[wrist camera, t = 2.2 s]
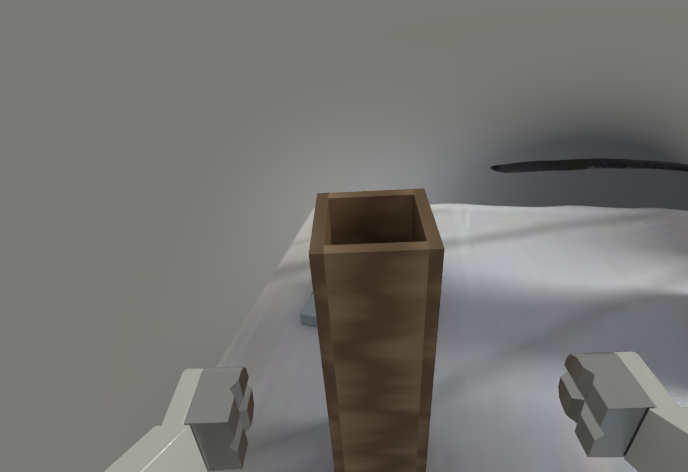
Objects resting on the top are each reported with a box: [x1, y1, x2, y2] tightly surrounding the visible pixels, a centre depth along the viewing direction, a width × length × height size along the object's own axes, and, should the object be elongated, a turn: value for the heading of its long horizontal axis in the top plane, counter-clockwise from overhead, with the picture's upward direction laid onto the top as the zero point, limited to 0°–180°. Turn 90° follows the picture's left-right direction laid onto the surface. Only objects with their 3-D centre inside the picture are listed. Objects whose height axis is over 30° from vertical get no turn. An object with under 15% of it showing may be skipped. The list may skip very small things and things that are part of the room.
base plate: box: [300, 293, 318, 327], centre depth 53 cm, size 14×16×8 cm
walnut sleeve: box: [309, 189, 444, 472], centre depth 29 cm, size 6×6×24 cm
